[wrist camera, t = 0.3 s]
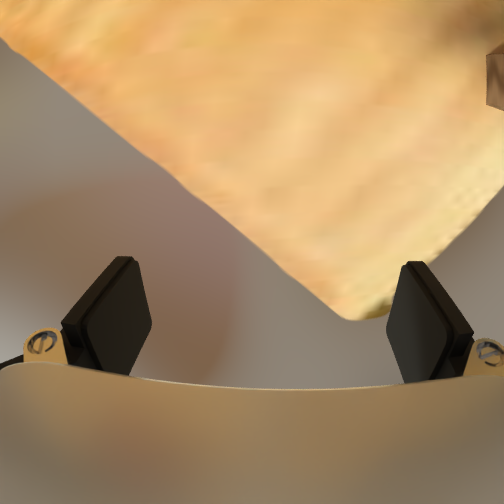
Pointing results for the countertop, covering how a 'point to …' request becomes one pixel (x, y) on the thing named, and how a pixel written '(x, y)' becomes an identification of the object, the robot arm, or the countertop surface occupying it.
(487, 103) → the tower base
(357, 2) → the countertop surface
